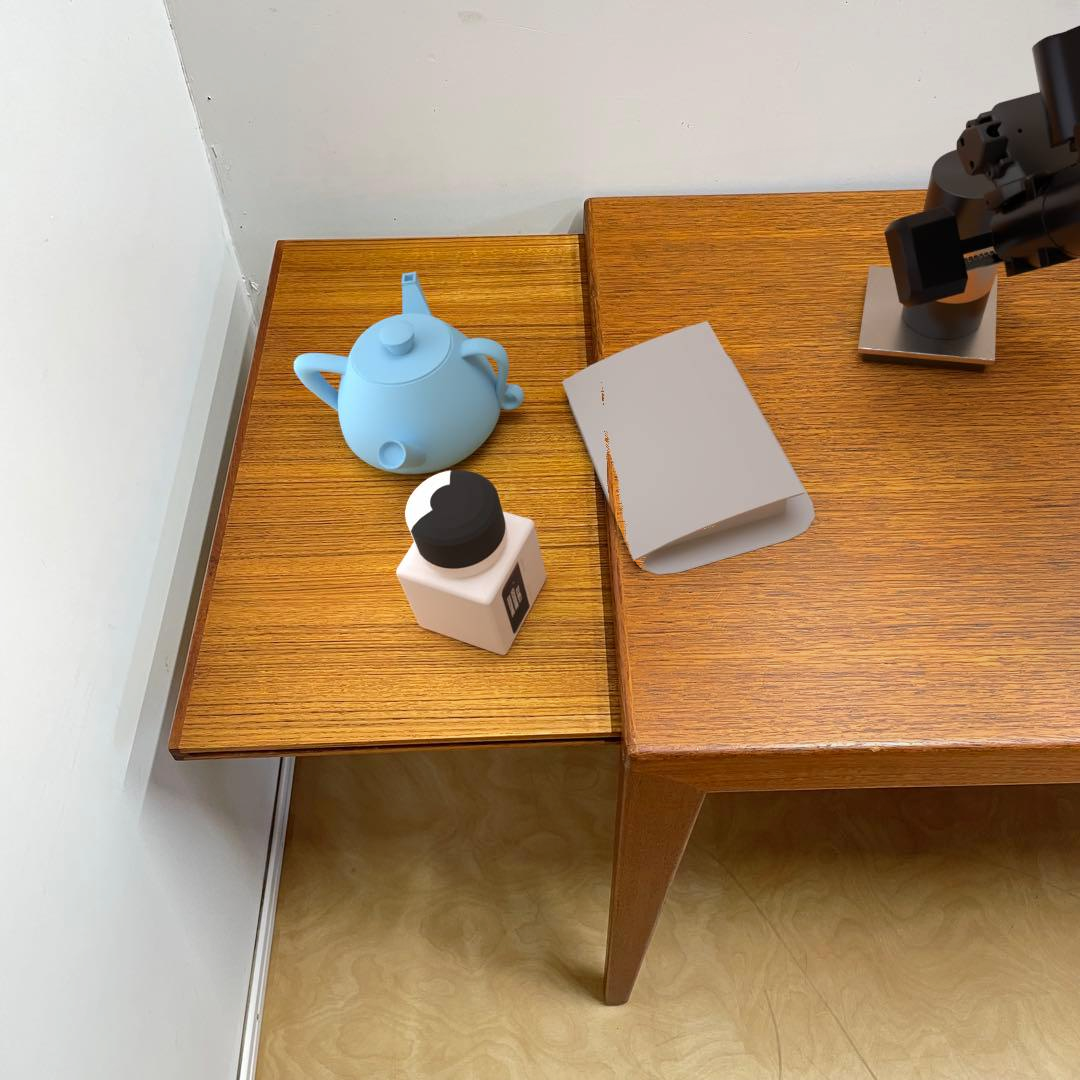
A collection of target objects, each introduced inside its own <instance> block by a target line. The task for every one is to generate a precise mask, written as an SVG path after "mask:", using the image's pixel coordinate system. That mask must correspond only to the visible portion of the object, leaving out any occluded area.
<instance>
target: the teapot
mask: <svg viewBox="0 0 1080 1080" xmlns="http://www.w3.org/2000/svg"><path fill="white" fill-rule="evenodd" d="M400 283H401V297H402V298H401V299H402V300H401V301H402V302H401V304H402V306H401V307H402V313H401V314H396V315H391V316H389V317H386V318H384V319H381V320H379V321H377V322H375V323H374V324H372V325H371V326H369V327H368V328H367V329H366V330H365V331H363V332H362V333H361V334H360V336H359V337H358V338H357V339H356V341H355V342H354V344H353V346H352V347H351V350H350V351H349V354H348V356H344V355H338V354H333V353H323V352H307V353H303V354H300V355H298V356H297V357H296V358H295V359H294V361H293V370H294V373H295V376H297V378H298V380H299V381H300V382H301V383H302V384H303V385H304V386H305V387H306V388H307V389H308V390H309V391H310V392H311V393H313V394H314V395H315V396H316V397H318V398H319V399H320V400H321V401H323V402H324V403H325V404H327V405H328V406H329V407H331V408H332V409H334V410H335V411H336V412H337V413H338V420H339V426H340V429H341V433H342V436H343V438H344V440H345V442H346V445H347V446H348V447H349V448H350V450H351V451H352V452H353V453H354V454H355V456H357V457H358V458H359V459H360V460H362V462H365V463H366V464H368V465H369V466H372V467H373V468H376V469H378V470H382V471H385V472H389V473H393V474H394V473H395V474H401V475H421V474H431V473H435V472H439V471H442V470H445V469H448V468H451V467H452V466H454V465H457V464H459V463H460V462H462V461H463V460H466V458H468V457H470V456H471V455H472V454H473V453H475V452H476V451H477V450H478V449H479V448H481V446H482V445H483V444H484V443H485V442H486V440H487V439H488V438H489V437H490V436H491V434H492V433H493V431H494V429H495V427H496V426H497V423H498V422H499V417H500V415H501V411H502V410H504V411H513V410H515V409H518V408H519V407H520V406H522V404H523V402H524V400H525V393H524V390H523V388H522V387H521V386H520V385H518V384H516V383H515V384H514V383H510V384H508V378H509V372H510V370H509V369H510V361H509V356H508V353H507V351H506V349H505V348H504V347H503V345H502V344H500V343H499V342H497V341H495V340H494V339H490V338H486V337H473V338H469V337H468V336H467V335H465V333H463V332H461V330H458V329H457V328H455V327H454V326H453V325H451V324H449V323H448V322H446V321H444V320H442V319H439V318H438V317H435V316H433V313H432V311H431V308H430V305H429V304H428V301H427V298H426V295H425V292H424V291H423V288H422V286H421V282H420V280H419V277H418V274H417V271H410V272H405V273H401V282H400ZM487 357H489V358H491V359H493V360H494V361H495V362H496V364H497V374H496V372H495V370H494V367H493V366H492V364H491V363H490V361H489V359H488V358H487ZM321 372H327V373H335V374H340V375H341V376H340V381H339V383H338V384H339V385H338V390H337V389H336V388H334V386H333V385H332V384H331V383H329V381H327V379H325V377H324V376H323V375H322V374H321Z"/></svg>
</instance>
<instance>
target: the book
mask: <svg viewBox="0 0 1080 1080" xmlns="http://www.w3.org/2000/svg"><path fill="white" fill-rule="evenodd" d="M601 382H602V383H601ZM561 385H562V387H563V389H564V392H565V395H566V397H567V399H568V406H569V409H570V410H571V413H572V416H573V418H574V421H575V423H576V426H577V428H578V431H579V433H580V436H581V438H582V440H583V443H584V446H585V448H586V450H587V453H588V456H589V458H590V461H591V463H592V466H593V468H594V471H595V474H596V475H597V478H598V481H599V483H600V486H601V488H602V490H603V493H604V496H605V498H606V501H607V503H608V505H609V493H608V486H607V485H608V484H607V459H606V458H607V457H606V456H607V455H606V454H607V452H608V451H610V453H609V454H610V455H611V458H612V460H611V461H613V462H614V463H612V464H613V465H614V466H613V467H614V468H615V469H614V470H615V471H616V474H617V477H618V478H617V479H618V480H619V481H618V482H619V483H618V484H619V486H618V487H619V488H618V489H620V490H618V491H619V494H620V495H619V496H621V497H619V498H620V499H619V500H620V501H619V502H620V503H622V504H620V505H622V506H623V507H622V506H620V507H622V508H623V509H622V510H623V511H622V512H623V513H622V514H623V515H622V516H623V517H622V518H623V521H625V522H623V523H625V524H626V525H625V524H624V525H625V526H626V527H625V526H624V527H625V528H626V529H625V528H624V529H625V530H626V536H625V537H626V538H625V539H626V541H627V542H628V543H627V544H629V545H628V546H629V547H628V548H629V550H630V553H631V555H632V558H633V560H638V559H640V558H641V559H645V560H641V561H644V562H640V563H643V564H646V565H642V566H645V567H641V568H644V569H641V570H642V571H645V570H650V571H647V572H648V573H652V574H654V575H657V576H661V575H670V574H680V573H683V572H686V571H690V570H692V569H696V568H699V567H703V566H705V565H710V564H712V563H716V562H719V561H723V560H726V559H730V558H732V557H736V556H737V557H738V556H739V555H743V554H747V553H749V552H753V551H756V550H760V549H763V548H767V547H769V546H773V545H776V544H780V543H784V542H787V541H789V540H792V539H794V538H796V537H797V536H799V535H802V534H803V533H805V532H807V531H808V529H809V528H810V527H811V524H812V523H813V521H814V519H815V518H816V513H815V509H814V502H813V501H812V499H811V497H810V496H809V494H808V492H807V490H806V488H805V486H804V484H803V483H802V481H801V479H800V478H799V476H798V474H797V473H796V470H795V469H794V467H793V465H792V464H791V462H790V460H789V458H788V456H787V455H786V452H785V450H783V448H782V446H781V444H780V442H779V441H778V439H777V437H776V435H775V434H774V431H773V429H771V426H770V425H769V422H768V421H767V419H766V418H765V416H764V415H763V413H762V411H761V408H760V407H759V405H758V404H757V402H756V400H755V398H754V396H753V395H752V393H751V391H750V390H749V388H748V386H747V384H746V382H745V381H744V379H743V377H742V376H741V373H740V372H739V370H738V369H737V366H736V365H735V363H734V361H733V360H732V357H730V356H729V355H728V354H727V353H726V351H725V349H724V347H723V346H722V344H721V342H720V341H719V339H718V337H717V335H716V333H715V331H714V330H713V329H712V326H711V324H710V323H709V321H707V320H706V321H703V322H699V323H696V324H693V325H688V326H686V327H682V328H679V329H676V330H674V331H671V332H668V333H666V334H662V335H660V336H657V337H654V338H652V339H648V340H646V341H644V342H642V343H639V344H636V345H633V346H631V347H628V348H626V349H622V350H621V351H618V352H616V353H614V354H612V355H610V356H608V357H606V358H603V359H601V360H599V361H597V362H595V363H592V364H591V365H588V366H586V367H585V368H584V369H581V370H579V371H578V372H576V373H574V374H573V375H571V376H569V377H567V378H565V379H563V380H562V381H561ZM602 387H603V389H602ZM602 390H603V391H604V392H601V391H602ZM602 393H603V394H604V396H603V397H604V401H602ZM603 403H604V405H603ZM604 431H605V432H604ZM606 431H607V432H608V433H607V432H606ZM605 433H606V434H607V435H608V436H607V435H606V434H605ZM605 435H606V436H607V437H608V438H609V440H608V441H609V442H608V443H609V444H608V443H607V442H606V441H605V438H607V437H606V436H605ZM606 444H607V445H608V446H609V447H608V446H607V445H606ZM606 446H607V447H608V448H609V449H610V450H608V448H607V447H606ZM607 450H608V451H607ZM621 501H622V502H621ZM609 507H610V505H609ZM714 525H715V526H714ZM710 526H711V527H710ZM712 526H713V527H712ZM708 527H709V528H708ZM704 528H706V529H704ZM702 529H703V530H702ZM624 533H625V532H624ZM624 535H625V534H624ZM642 557H646V558H642ZM633 560H632V561H633Z"/></svg>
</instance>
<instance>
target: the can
mask: <svg viewBox="0 0 1080 1080" xmlns="http://www.w3.org/2000/svg"><path fill="white" fill-rule="evenodd" d="M993 189H995V186H994V184H993V183H992V182H991V181H989V180H987V178H986V177H985V176H984V175H981V174H979V175H975V176H969V175H968V174H967V173H966V171H965V169H964V166H963V164H962V162H961V159H960V157H959V154H958V152H957V149H954V150H951V151H947V152H946V153H944V154H943V155H941V156H939V157H938V159H936V161H935V162H934V163H933V165H932V167H931V171H930V177H929V180H928V186H927V190H926V196H925V200H924V203H923V209H922V211H921V212H923V211H927V210H931V209H934V208H938V207H942V206H945V205H947V207H948V208H949V209H950V210H951V211H952V212H953V213H954V215H955V216H956V221H957V226H958V231H959V236H960V240H963V239H967V238H970V237H974V236H978V235H981V234H985V233H989V232H990V223H991V219H992V216H993V215H994V210H993V211H990V212H988V211H987V209H986V204H985V199H984V193H986V192H989V191H991V190H993ZM992 250H993V251H994V249H993V247H990V248H987V249H983V250H979V251H976V252H972V253H968V254H965V255H964V258H967V259H968V257H970V256H972V257H974V255H978V257H979V254H981V253H983V255H984V253H985V252H988V253H989V251H992ZM999 266H1000V263H999V264H995V265H992V266H988V267H985V268H981V269H977V270H974V271H970V272H967V275H968V281H967V285H966V288H965V292H964V293H961V294H958V295H954V296H951V297H947V298H943V299H940V300H936V301H932V302H929V303H925V304H922V305H918V306H914V307H910V308H908V307H906V306H904V305H903V309H902V313H903V317H904V320H905V322H906V323H907V324H908V326H909V327H910V328H912V329H913V330H914V331H916V332H918V333H919V334H922V335H924V336H927V337H930V338H935V339H956V338H960V337H964V336H966V335H968V334H970V333H972V332H973V331H974V330H976V329H977V328H978V327H979V325H980V324H981V321H982V318H983V315H984V312H985V308H986V305H987V302H988V298H989V295H990V291H991V288H992V286H993V284H994V280H995V277H996V274H997V273H998V270H999ZM997 275H998V274H997Z"/></svg>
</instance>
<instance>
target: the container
mask: <svg viewBox="0 0 1080 1080" xmlns="http://www.w3.org/2000/svg"><path fill="white" fill-rule="evenodd" d="M497 490H498V489H497V488H496V486H495V485H494V483H493V482H492V481H491V480H489V478H487V477H485V476H484V475H482V474H481V473H480V474H479V473H477V472H475V471H470V470H464V469H452V470H445V471H442V472H438V473H436V474H434V475H432V476H429V477H428V478H427V479H426V480H424V481H422V482H421V484H419V485H417V487H416V488H415V489H414V490H413V491H412V493H411V495H410V496H409V498H408V500H407V502H406V506H405V510H404V516H405V517H404V518H405V522H406V525H407V527H408V530H409V533H410V535H411V538H412V540H413V543H412V544H411V546H410V547H409V549H408V550H407V552H406V554H405V555H404V556H403V558H402V560H401V562H400V564H399V565H398V567H397V568H396V572H395V574H396V577H397V579H398V581H399V583H400V586H401V588H402V590H403V592H404V594H405V597H406V599H407V601H408V603H409V606H410V608H411V610H412V613H413V615H414V618H415V619H416V622H417V623H418V624H417V625H418V626H420V627H421V628H422V629H425V630H427V631H430V632H431V631H432V632H434V633H436V634H439V635H442V636H446V637H448V638H450V639H451V638H452V639H454V640H457V641H459V642H463V643H466V644H468V645H472V646H474V647H477V648H480V649H483V650H486V651H488V652H492V653H494V654H497V655H500V656H505V655H507V654H508V653H509V651H510V649H511V647H512V645H513V643H514V641H515V639H516V637H517V635H518V634H519V631H520V630H521V628H522V627H523V624H524V622H525V620H526V618H527V617H528V615H529V613H530V611H531V609H532V607H533V605H534V603H535V602H536V599H537V598H538V596H539V595H540V592H541V590H542V588H543V586H544V584H545V582H546V580H547V572H546V569H545V564H544V560H543V556H542V550H541V545H540V542H539V537H538V534H537V529H536V524H535V522H534V520H533V519H531V518H528V517H524V516H521V515H517V514H514V513H510V512H508V511H504V510H503V507H502V503H501V500H500V495H499V492H498V491H497Z"/></svg>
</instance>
